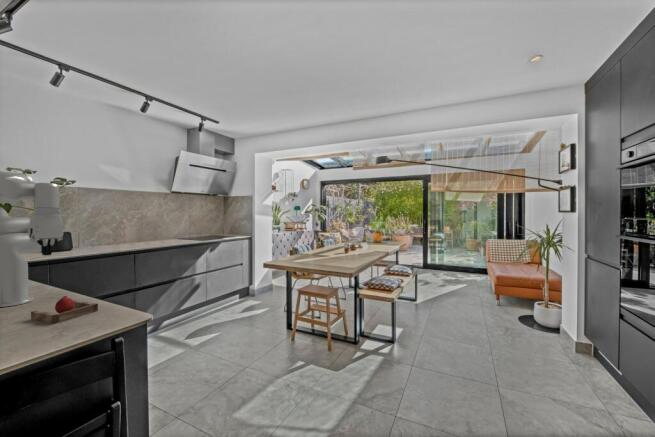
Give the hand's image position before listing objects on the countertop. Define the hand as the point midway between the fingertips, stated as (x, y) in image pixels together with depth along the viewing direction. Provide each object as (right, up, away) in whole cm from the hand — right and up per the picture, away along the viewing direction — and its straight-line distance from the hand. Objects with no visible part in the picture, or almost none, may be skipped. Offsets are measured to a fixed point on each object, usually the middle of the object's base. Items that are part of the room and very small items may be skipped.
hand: (46, 254), depth 122 cm
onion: (+14, -24, -6) cm, 28 cm away
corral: (+14, -24, -6) cm, 28 cm away
